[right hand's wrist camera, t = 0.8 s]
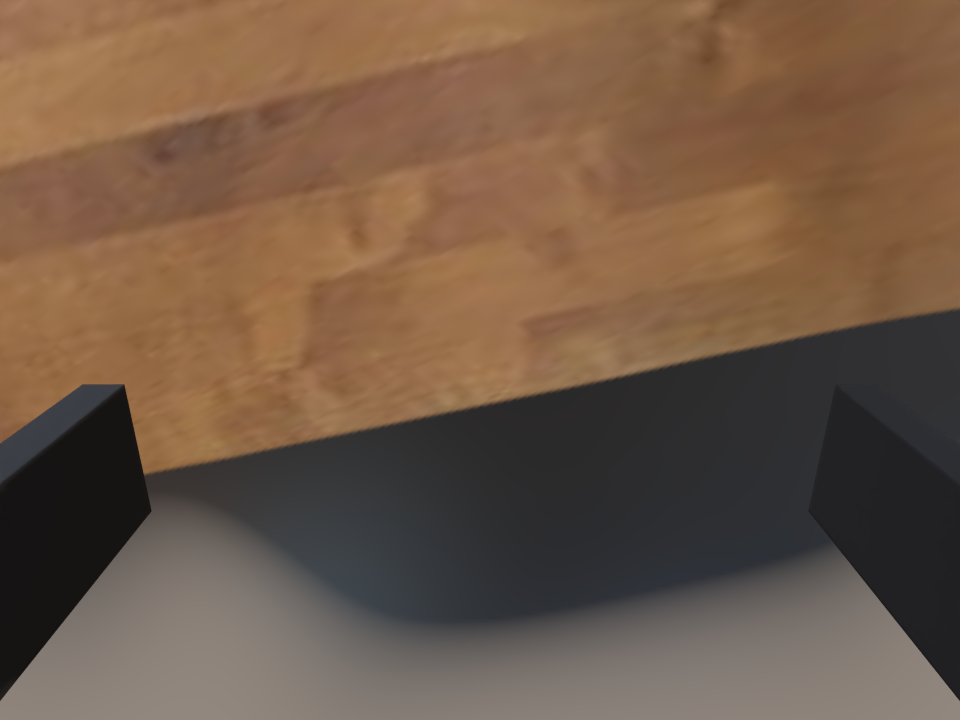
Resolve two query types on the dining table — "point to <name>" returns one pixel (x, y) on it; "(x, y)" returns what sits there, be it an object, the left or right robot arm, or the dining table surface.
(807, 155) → the dining table surface
